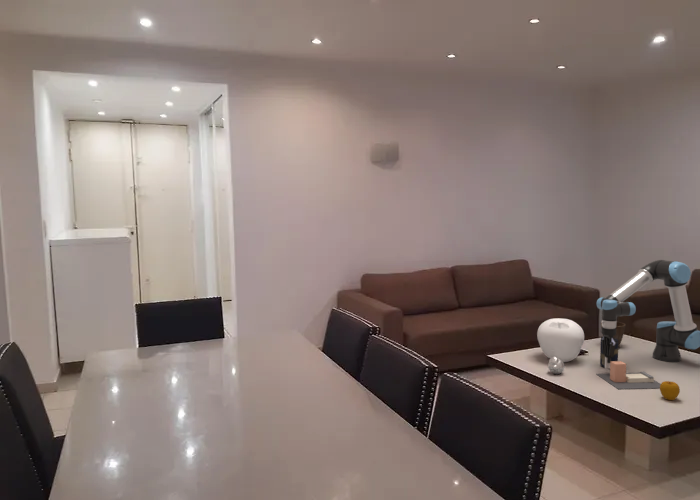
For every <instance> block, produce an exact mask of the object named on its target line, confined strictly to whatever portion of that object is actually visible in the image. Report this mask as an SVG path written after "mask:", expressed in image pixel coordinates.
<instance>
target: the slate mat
mask: <svg viewBox="0 0 700 500" xmlns="http://www.w3.org/2000/svg"><path fill="white" fill-rule="evenodd" d="M626 374H641V373H640V372H626ZM596 376H598V377H599V378H601V379H602V380H604V381H605V382H607V383H608V384H610V385H611V386H612V387H614V388H615V389H616V390H656V389H657V390H658V389H659V390H660V385H661V383H660V382H659V381H656V380H655V379H654V382H639V383H628V382H614V381H612V380H611V379H610V372H609V373H607V372H605V373H596Z"/></svg>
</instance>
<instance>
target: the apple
mask: <svg viewBox="0 0 700 500" xmlns="http://www.w3.org/2000/svg"><path fill="white" fill-rule="evenodd" d="M660 384H661V385H660V389H659V391H660V394H661V396H662V397H663V399H665V400H667V401H674V400H675V401H676V399H677V398H678V396H679V395H680V392H681V390H680V386H679V384H678V383H677V382H674V381H669V380H668V381H667V380H666V381H665V380H664V381H662V382H661V383H660Z"/></svg>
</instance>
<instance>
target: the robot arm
mask: <svg viewBox="0 0 700 500" xmlns="http://www.w3.org/2000/svg"><path fill="white" fill-rule="evenodd" d="M691 271H692V270H691V269H690V267H689V266H688V265H687V264H686V263H684V262H680V261H673V260H666V259H657V260H654V261H651V262H649V263H648V264H645V265H644V266H642V267H641V268H640V269H638V271H637V273H636V274H635V275H633V276H632V277H630V279H628V280H627V281H625V282H623V283H622V285H620V286H619V287H618V288H616V289H615V290H614V291H613V292H611V293H610V294H609V295H608V296H606V297H599V298H598V299H597V300H596V307H597V309H598V310H601V322H600V324H601V323H602V329H601V328H600V333H601V335H602V334H603V335H602V336H601V337H600V341H601V340H602V350H603V354H604V356H605V367H604V369H610V361H611V357H614V352H615V346H616V344H617V343H616V342H614V335H616V326H617V322H618V320H617V319H618V317H626V316H627V317H629V316H633V315H635V314H636V310H637V308H636V305H635V304H634V303H633V302H631V301H630V302H629V301H626V302H625V300H627V299H629V298H630V297H631V296H632V295H633V294H635V293H636V292H637V291H639V290H640V289H642V288H643V287H644V286H645V285H647V284H648V283H652V282H654V281H656V280H662V281H663V285H664V286H665V287H666V288H667V289H668V293H669V298H670V302H671V307H672V311H673V315H674V316H673V317H674V321H659V322H657V323H656V324H657V325H656V342H655V344H656V345H655V347H654V349H653V351H652V358H653V359H656V360H659V361H662V362H669V363H670V362H671V363H674V362H680V361H681V359H682V355H681V353H680V349H679V347H682V348H686V349H687V350H689V349H690V350H697V349H698V348H700V330H698V327H697V324H696V323H694V320H693V317H692V311H691V307H690V304H689V303H690V302H689V298H688V293H687V288H686V285H687V284H688V282H689V281H690V278H691V276H692V273H691Z"/></svg>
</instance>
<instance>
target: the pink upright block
mask: <svg viewBox="0 0 700 500" xmlns="http://www.w3.org/2000/svg"><path fill="white" fill-rule="evenodd" d="M609 369H610V370H609V373H610V379H611V380H612V381H614V382H626V373H627V363H625V362H623V361H621V360H620V361H619V360H618V361H610V368H609Z"/></svg>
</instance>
